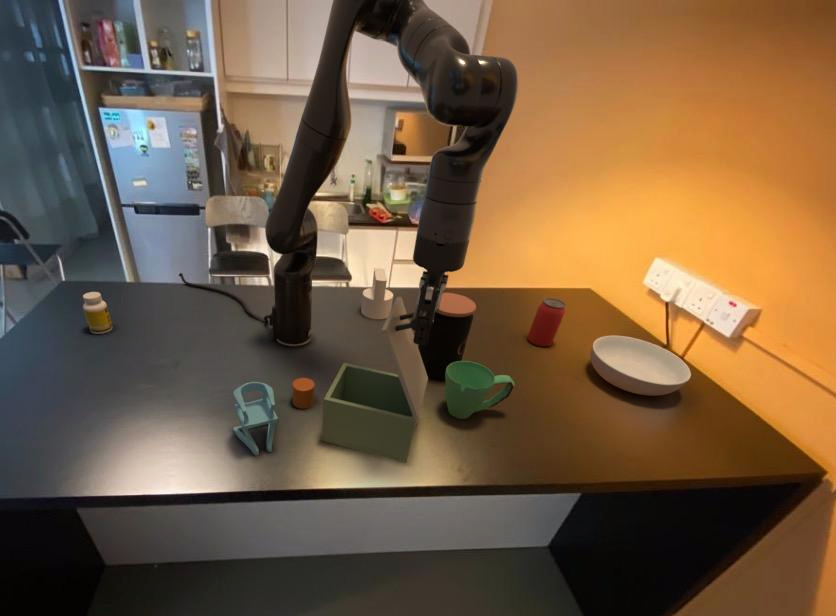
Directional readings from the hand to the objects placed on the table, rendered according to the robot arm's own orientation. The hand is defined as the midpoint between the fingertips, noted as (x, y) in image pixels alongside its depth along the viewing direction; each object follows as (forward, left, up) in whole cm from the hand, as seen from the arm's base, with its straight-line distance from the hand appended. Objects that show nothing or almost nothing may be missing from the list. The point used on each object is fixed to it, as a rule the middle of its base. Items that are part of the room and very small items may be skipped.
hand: (423, 331), depth 70 cm
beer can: (+30, +53, -24) cm, 65 cm away
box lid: (-2, 0, -6) cm, 6 cm away
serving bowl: (+50, +41, -24) cm, 69 cm away
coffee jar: (+4, +28, -24) cm, 37 cm away
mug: (+13, +14, -24) cm, 31 cm away
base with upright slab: (-17, +52, -24) cm, 60 cm away
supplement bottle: (-82, +13, -24) cm, 87 cm away
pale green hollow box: (-6, 0, -24) cm, 25 cm away
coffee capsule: (-22, +4, -24) cm, 33 cm away
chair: (-26, -10, -24) cm, 38 cm away
